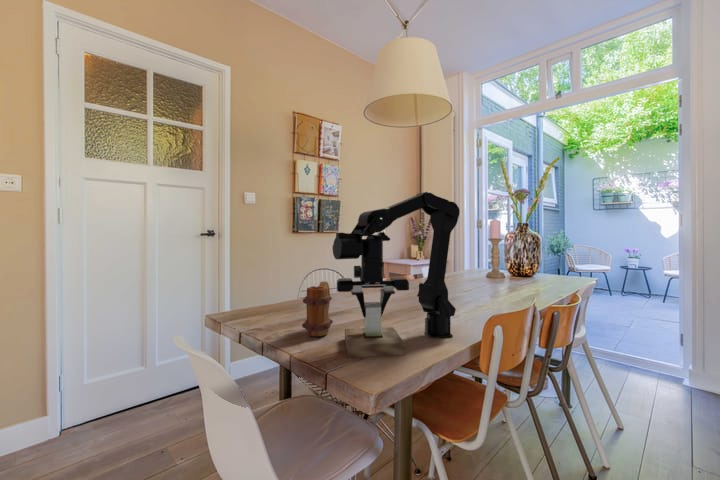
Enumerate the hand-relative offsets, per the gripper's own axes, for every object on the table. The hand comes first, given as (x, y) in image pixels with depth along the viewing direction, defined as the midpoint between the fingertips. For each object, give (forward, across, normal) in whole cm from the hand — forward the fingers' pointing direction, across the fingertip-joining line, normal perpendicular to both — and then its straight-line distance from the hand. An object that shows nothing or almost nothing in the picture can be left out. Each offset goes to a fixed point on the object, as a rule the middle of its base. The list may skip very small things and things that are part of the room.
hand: (372, 316), depth 87 cm
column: (+4, 0, 0) cm, 4 cm away
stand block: (+8, 0, 0) cm, 8 cm away
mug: (+8, +14, -15) cm, 22 cm away
